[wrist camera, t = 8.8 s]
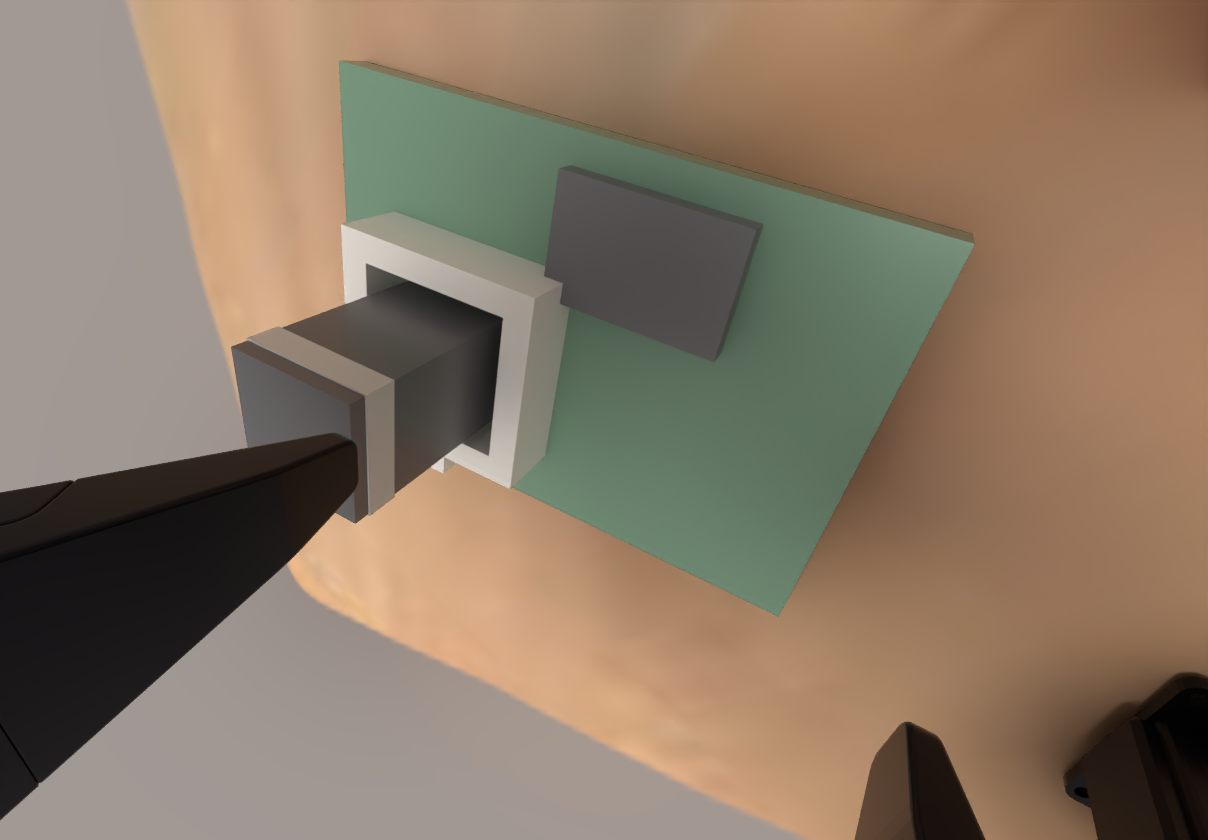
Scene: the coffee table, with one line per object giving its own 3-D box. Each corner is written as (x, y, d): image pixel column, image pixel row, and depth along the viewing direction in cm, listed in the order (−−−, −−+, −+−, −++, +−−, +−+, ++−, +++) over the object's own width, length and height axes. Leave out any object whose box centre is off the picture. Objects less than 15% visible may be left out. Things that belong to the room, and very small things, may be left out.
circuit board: (973, 234, 16) (980, 268, 13) (784, 594, 23) (762, 668, 20) (365, 61, 21) (274, 58, 18) (374, 400, 29) (311, 435, 26)
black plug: (526, 308, 21) (350, 403, 15) (513, 406, 23) (356, 525, 17) (430, 270, 22) (229, 344, 16) (427, 367, 25) (250, 466, 18)
